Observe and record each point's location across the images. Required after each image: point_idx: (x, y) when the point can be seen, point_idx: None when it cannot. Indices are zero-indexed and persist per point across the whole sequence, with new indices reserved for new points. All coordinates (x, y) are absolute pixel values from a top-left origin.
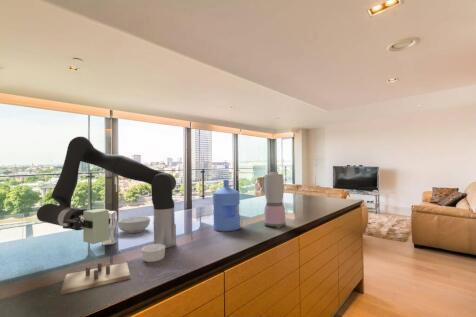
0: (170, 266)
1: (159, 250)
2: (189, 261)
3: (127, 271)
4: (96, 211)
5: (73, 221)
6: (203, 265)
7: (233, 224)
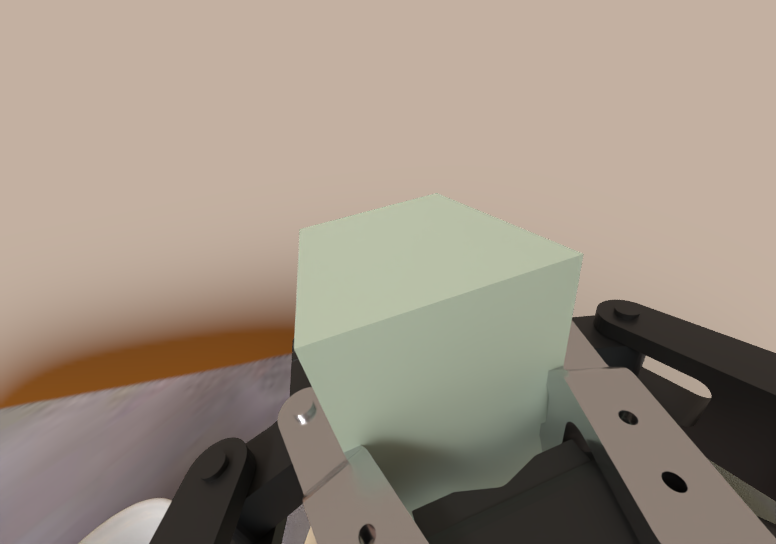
0: (227, 426)
1: (153, 498)
2: (172, 423)
3: None
4: (406, 210)
5: (660, 315)
6: (197, 374)
7: None
